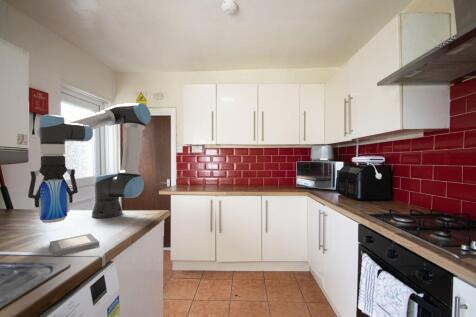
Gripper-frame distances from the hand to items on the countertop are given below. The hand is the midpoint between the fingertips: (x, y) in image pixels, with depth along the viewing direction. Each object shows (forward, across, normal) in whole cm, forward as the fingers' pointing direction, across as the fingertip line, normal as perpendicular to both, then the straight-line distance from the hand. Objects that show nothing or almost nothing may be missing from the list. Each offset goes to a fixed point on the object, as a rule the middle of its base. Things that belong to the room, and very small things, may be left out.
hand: (54, 213), depth 90 cm
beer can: (+3, 0, 0) cm, 3 cm away
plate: (+11, -4, +11) cm, 16 cm away
